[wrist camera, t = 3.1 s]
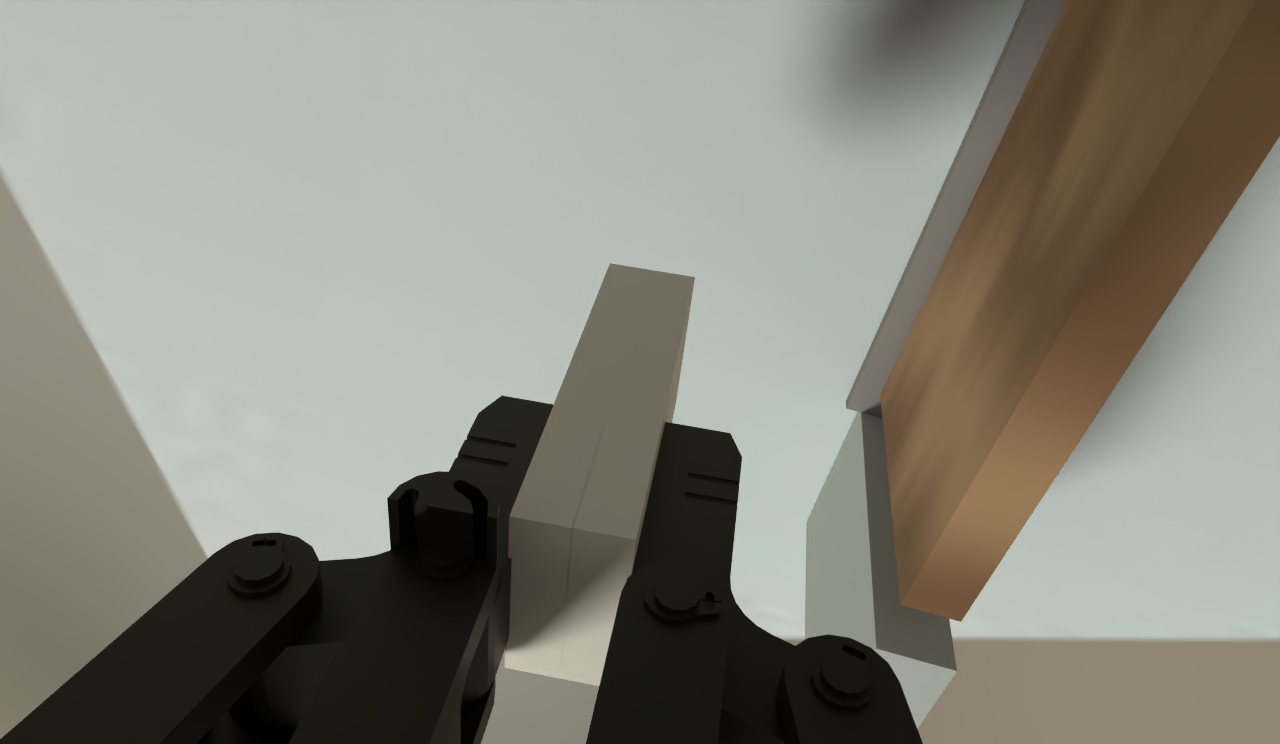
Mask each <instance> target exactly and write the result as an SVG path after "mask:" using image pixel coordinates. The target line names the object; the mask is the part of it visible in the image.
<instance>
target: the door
mask: <svg viewBox="0 0 1280 744" xmlns="http://www.w3.org/2000/svg"><path fill="white" fill-rule="evenodd" d="M1279 136H1280V0H1067V1H1066V3H1065V6H1064V8H1063V10H1062V12H1061V14H1060V16H1059V18H1058V20H1057V22H1056V25H1055V27H1054V29H1053V31H1052V33H1051V35H1050V37H1049V39H1048V42H1047V44H1046V46H1045V48H1044V50H1043V52H1042V54H1041V56H1040V58H1039V61H1038V63H1037V65H1036V67H1035V69H1034V71H1033V73H1032V75H1031V77H1030V80H1029V82H1028V84H1027V86H1026V88H1025V90H1024V92H1023V94H1022V96H1021V99H1020V101H1019V103H1018V105H1017V107H1016V109H1015V111H1014V113H1013V115H1012V118H1011V120H1010V122H1009V124H1008V126H1007V128H1006V130H1005V132H1004V134H1003V137H1002V139H1001V141H1000V143H999V145H998V147H997V149H996V151H995V154H994V156H993V158H992V160H991V162H990V164H989V166H988V168H987V170H986V173H985V175H984V177H983V179H982V181H981V183H980V185H979V187H978V189H977V192H976V194H975V196H974V198H973V200H972V202H971V204H970V206H969V208H968V211H967V213H966V215H965V217H964V219H963V221H962V223H961V225H960V227H959V230H958V232H957V234H956V236H955V238H954V240H953V242H952V244H951V246H950V249H949V251H948V253H947V255H946V257H945V259H944V261H943V263H942V265H941V268H940V270H939V272H938V274H937V276H936V278H935V280H934V282H933V285H932V287H931V289H930V291H929V293H928V295H927V297H926V299H925V301H924V304H923V306H922V308H921V310H920V312H919V314H918V316H917V318H916V320H915V323H914V325H913V327H912V329H911V331H910V333H909V335H908V337H907V339H906V342H905V344H904V346H903V348H902V350H901V352H900V354H899V356H898V358H897V361H896V363H895V365H894V367H893V369H892V371H891V373H890V375H889V377H888V380H887V382H886V384H885V386H884V388H883V390H882V392H881V394H880V398H881V408H882V419H883V429H884V440H885V450H886V461H887V471H888V481H889V492H890V502H891V513H892V523H893V533H894V544H895V554H896V565H897V575H898V586H899V596H900V605H903V606H907V607H910V608H914V609H917V610H921V611H925V612H928V613H932V614H935V615H939V616H942V617H946V618H950V619H953V620H957V621H960V622H961V621H962V619H963V618H964V616H965V615H966V613H967V612H968V610H969V609H970V607H971V606H972V604H973V603H974V601H975V599H976V598H977V596H978V595H979V593H980V592H981V590H982V589H983V587H984V586H985V584H986V583H987V581H988V580H989V578H990V577H991V575H992V574H993V572H994V571H995V569H996V567H997V566H998V564H999V563H1000V561H1001V560H1002V558H1003V557H1004V555H1005V554H1006V552H1007V551H1008V549H1009V548H1010V546H1011V545H1012V543H1013V542H1014V540H1015V539H1016V537H1017V535H1018V534H1019V532H1020V531H1021V529H1022V528H1023V526H1024V525H1025V523H1026V522H1027V520H1028V519H1029V517H1030V516H1031V514H1032V513H1033V511H1034V510H1035V508H1036V507H1037V505H1038V503H1039V502H1040V500H1041V499H1042V497H1043V496H1044V494H1045V493H1046V491H1047V490H1048V488H1049V487H1050V485H1051V484H1052V482H1053V481H1054V479H1055V478H1056V476H1057V475H1058V473H1059V471H1060V470H1061V468H1062V467H1063V465H1064V464H1065V462H1066V461H1067V459H1068V458H1069V456H1070V455H1071V453H1072V452H1073V450H1074V449H1075V447H1076V446H1077V444H1078V443H1079V441H1080V439H1081V438H1082V436H1083V435H1084V433H1085V432H1086V430H1087V429H1088V427H1089V426H1090V424H1091V423H1092V421H1093V420H1094V418H1095V417H1096V415H1097V414H1098V412H1099V411H1100V409H1101V407H1102V406H1103V404H1104V403H1105V401H1106V400H1107V398H1108V397H1109V395H1110V394H1111V392H1112V391H1113V389H1114V388H1115V386H1116V385H1117V383H1118V382H1119V380H1120V379H1121V377H1122V376H1123V374H1124V372H1125V371H1126V369H1127V368H1128V366H1129V365H1130V363H1131V362H1132V360H1133V359H1134V357H1135V356H1136V354H1137V353H1138V351H1139V350H1140V348H1141V347H1142V345H1143V344H1144V342H1145V340H1146V339H1147V337H1148V336H1149V334H1150V333H1151V331H1152V330H1153V328H1154V327H1155V325H1156V324H1157V322H1158V321H1159V319H1160V318H1161V316H1162V315H1163V313H1164V312H1165V310H1166V308H1167V307H1168V305H1169V304H1170V302H1171V301H1172V299H1173V298H1174V296H1175V295H1176V293H1177V292H1178V290H1179V289H1180V287H1181V286H1182V284H1183V283H1184V281H1185V280H1186V278H1187V276H1188V275H1189V273H1190V272H1191V270H1192V269H1193V267H1194V266H1195V264H1196V263H1197V261H1198V260H1199V258H1200V257H1201V255H1202V254H1203V252H1204V251H1205V249H1206V248H1207V246H1208V244H1209V243H1210V241H1211V240H1212V238H1213V237H1214V235H1215V234H1216V232H1217V231H1218V229H1219V228H1220V226H1221V225H1222V223H1223V222H1224V220H1225V219H1226V217H1227V216H1228V214H1229V212H1230V211H1231V209H1232V208H1233V206H1234V205H1235V203H1236V202H1237V200H1238V199H1239V197H1240V196H1241V194H1242V193H1243V191H1244V190H1245V188H1246V187H1247V185H1248V184H1249V182H1250V180H1251V179H1252V177H1253V176H1254V174H1255V173H1256V171H1257V170H1258V168H1259V167H1260V165H1261V164H1262V162H1263V161H1264V159H1265V158H1266V156H1267V155H1268V153H1269V152H1270V150H1271V148H1272V147H1273V145H1274V144H1275V142H1276V141H1277V139H1278V138H1279Z"/></svg>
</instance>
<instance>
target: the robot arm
mask: <svg viewBox="0 0 1280 744" xmlns="http://www.w3.org/2000/svg"><path fill="white" fill-rule="evenodd" d="M694 279H695V277H690V276H684V275H678V274H671V273H665V272H659V271H653V270H647V269H641V268H635V267H629V266H622V265H616V264H610V265H609V267H608V270H607V272H606V275H605V277H604V280H603V282H602V285H601V287H600V290H599V293H598V295H597V298H596V300H595V303H594V305H593V308H592V310H591V313H590V315H589V318H588V320H587V323H586V325H585V328H584V330H583V333H582V335H581V338H580V340H579V343H578V345H577V348H576V350H575V353H574V355H573V358H572V360H571V363H570V365H569V368H568V370H567V373H566V375H565V378H564V380H563V383H562V385H561V388H560V390H559V393H558V395H557V398H556V400H555V403H554V405H552V404H547V403H541V402H535V401H529V400H524V399H518V398H512V397H506V396H501V397H500V398H498V399H497V400H496V401H494V402H493V403H491V404H490V405H489V406H487V407H486V408H485V409H483V410H482V411H481V412H479V414H478V415H477V417H476V419H475V421H474V423H473V425H472V427H471V429H470V431H469V433H468V435H467V440H465V441H464V443H463V445H462V447H461V449H460V451H459V453H458V457H457V458H456V459H455V461H454V463H453V465H452V467H451V469H450V471H449V472H439V471H438V472H434V473H429V474H424V475H419V476H416V477H414V478H412V479H410V480H409V481H407V482H405V483H403V484H401V485H399V486H398V487H397V489H396V490H395V491H394V492H393V493H392V494H391V495H390V496H389V497H388V498H387V499H388V513H389V528H390V542H391V550H390V551H387V552H384V553H381V554H378V555H375V556H370V557H364V558H357V559H343V560H328V561H319V559H318V557H317V555H316V553H315V551H314V550H313V548H312V546H310V545H309V544H307V543H306V542H304V541H303V540H301V539H300V538H298V537H295V536H291V535H286V534H282V533H264V534H254V535H251V536H248V537H245V538H242V539H238V540H235V541H233V542H231V543H230V544H228V545H226V546H225V547H223V548H222V549H220V550H219V551H217V552H216V553H214V554H213V555H212V556H211V557H210V558H208V559H207V560H206V561H205V562H204V563H203V564H201V565H200V566H199V567H198V568H197V569H196V570H195V571H193V572H192V573H191V574H190V575H189V576H188V577H187V578H185V580H183V581H182V582H181V583H180V584H179V585H177V586H176V587H175V588H174V589H173V590H172V591H171V592H169V593H168V594H167V595H166V596H165V597H164V598H162V599H161V600H160V601H159V602H158V603H157V604H155V605H154V606H153V607H152V608H151V609H150V610H149V611H147V612H146V613H145V614H144V615H143V616H142V617H141V618H140V619H138V620H137V621H136V622H135V623H134V624H132V625H131V626H130V627H129V628H128V629H127V630H126V631H125V632H123V633H122V634H121V635H120V636H119V637H118V638H116V639H115V640H114V641H113V642H112V643H111V644H109V645H108V646H107V647H106V648H105V649H104V650H103V651H101V652H100V653H99V654H98V655H97V656H96V657H95V658H93V659H92V660H91V661H90V662H89V663H88V664H86V666H84V667H83V668H82V669H81V670H80V671H79V672H77V673H76V674H75V675H74V676H73V677H72V678H70V679H69V680H68V681H67V682H66V683H65V684H63V685H62V686H61V687H60V688H59V689H58V690H57V691H56V692H54V693H53V694H52V695H51V696H50V697H49V698H47V699H46V700H45V701H44V702H43V703H42V704H40V705H39V706H38V707H37V708H36V709H35V710H34V711H32V712H31V713H30V714H29V715H28V716H27V717H26V718H24V719H23V720H22V721H21V722H20V723H19V724H18V725H16V726H15V727H14V728H13V729H12V730H11V731H9V732H8V733H7V734H6V735H5V736H4V737H3V738H1V739H0V744H481V741H482V738H483V735H484V732H485V729H486V726H487V723H488V720H489V717H490V714H491V711H492V708H493V705H494V695H495V676H496V673H497V670H498V667H499V664H500V661H501V658H502V655H503V652H504V649H505V668H510V669H514V670H520V671H525V672H530V673H535V674H540V675H545V676H550V677H556V678H561V679H566V680H571V681H576V682H581V683H586V684H591V685H596V686H599V691H598V694H597V699H596V703H595V707H594V712H593V716H592V720H591V725H590V729H589V733H588V737H587V742H586V744H923V743H922V740H921V738H920V735H919V732H918V730H917V727H916V724H915V722H914V719H913V716H912V714H911V711H910V708H909V705H908V703H907V700H906V697H905V695H904V692H903V689H902V687H901V684H900V681H899V680H898V678H897V676H896V675H895V673H894V671H893V670H892V668H891V666H890V665H889V663H888V662H887V661H886V660H885V659H883V658H882V657H881V656H880V655H879V654H878V653H877V652H875V651H874V650H873V649H872V648H871V647H868V646H866V645H864V644H862V643H860V642H858V641H856V640H854V639H851V638H848V637H842V636H835V635H829V634H827V635H821V636H816V637H810V638H807V639H806V640H804V641H802V642H801V643H800V644H798V645H796V646H794V645H792V644H790V643H788V642H786V641H784V640H782V639H780V638H778V637H776V636H773V635H771V634H770V633H768V632H766V631H765V630H763V629H761V628H760V627H758V626H756V625H755V624H754V623H753V622H752V621H751V620H750V619H749V618H748V617H746V616H745V615H744V613H743V612H742V611H741V609H740V608H739V606H738V605H737V604H736V602H735V599H734V597H733V594H732V591H731V584H730V573H731V563H732V553H733V542H734V532H735V522H736V512H737V502H738V492H739V481H740V471H741V461H742V456H741V454H740V452H739V450H738V448H737V446H736V444H735V442H734V440H733V438H732V436H731V434H730V433H725V432H720V431H714V430H708V429H702V428H697V427H691V426H685V425H679V424H674V423H672V418H673V413H674V409H675V404H676V397H677V391H678V384H679V378H680V371H681V365H682V358H683V351H684V345H685V338H686V332H687V325H688V319H689V312H690V305H691V299H692V292H693V286H694Z"/></svg>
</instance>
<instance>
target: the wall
mask: <svg viewBox="0 0 1280 744" xmlns="http://www.w3.org/2000/svg"><path fill="white" fill-rule="evenodd" d="M1066 1H1067V0H1026V1H1025V3H1024V5H1023V8H1022V10H1021V12H1020V14H1019V17H1018V19H1017V21H1016V23H1015V25H1014V28H1013V30H1012V32H1011V34H1010V37H1009V39H1008V41H1007V43H1006V46H1005V48H1004V50H1003V52H1002V54H1001V57H1000V59H999V61H998V63H997V66H996V68H995V70H994V72H993V75H992V77H991V79H990V81H989V83H988V86H987V88H986V90H985V92H984V95H983V97H982V99H981V101H980V104H979V106H978V108H977V110H976V112H975V115H974V117H973V119H972V121H971V124H970V126H969V128H968V130H967V133H966V135H965V137H964V139H963V141H962V144H961V146H960V148H959V150H958V153H957V155H956V157H955V159H954V162H953V164H952V166H951V168H950V170H949V173H948V175H947V177H946V179H945V182H944V184H943V186H942V188H941V191H940V193H939V195H938V197H937V199H936V202H935V204H934V206H933V208H932V211H931V213H930V215H929V217H928V220H927V222H926V224H925V226H924V228H923V231H922V233H921V235H920V237H919V240H918V242H917V244H916V246H915V249H914V251H913V253H912V255H911V257H910V260H909V262H908V264H907V266H906V269H905V271H904V273H903V275H902V278H901V280H900V282H899V284H898V286H897V289H896V291H895V293H894V295H893V298H892V300H891V302H890V304H889V307H888V309H887V311H886V313H885V315H884V318H883V320H882V322H881V324H880V327H879V329H878V331H877V333H876V336H875V338H874V340H873V342H872V344H871V347H870V349H869V351H868V353H867V356H866V358H865V360H864V362H863V365H862V367H861V369H860V371H859V373H858V376H857V378H856V380H855V382H854V385H853V387H852V389H851V391H850V394H849V396H848V398H847V400H846V408H847V409H851V410H854V411H858V412H857V415H856V417H855V419H854V421H853V423H852V425H851V428H850V430H849V432H848V434H847V436H846V438H845V441H844V443H843V445H842V447H841V449H840V451H839V454H838V456H837V458H836V460H835V462H834V464H833V467H832V469H831V471H830V473H829V475H828V477H827V480H826V482H825V484H824V486H823V488H822V490H821V493H820V495H819V497H818V499H817V501H816V503H815V506H814V508H813V510H812V512H811V514H810V516H809V519H808V521H807V534H806V603H805V640H806V639H807V638H810V637H816V636H821V635H827V634H829V635H835V636H842V637H848V638H851V639H854V640H856V641H858V642H860V643H862V644H864V645H866V646H868V647H871V648H872V649H873V650H874V651H875V652H877V653H878V654H879V655H880V656H881V657H882V658H883V659H885V660H886V661H887V662H888V663H889V665H890V666H891V668H892V670H893V671H894V673H895V675H896V676H897V678H898V680H899V681H900V684H901V687H902V689H903V692H904V695H905V697H906V700H907V703H908V705H909V708H910V711H911V714H912V716H913V719H914V722H915V724H916V727H917V729H918V727H919V726H920V724H921V723H922V721H923V720H924V718H925V717H926V716H927V714H928V713H929V711H930V710H931V708H932V707H933V705H934V704H935V702H936V701H937V699H938V698H939V696H940V695H941V694H942V692H943V691H944V689H945V688H946V686H947V685H948V683H949V682H950V680H951V679H952V678H953V676H954V675H955V673H956V672H957V669H956V662H955V656H954V650H953V643H952V635H951V629H950V622H949V618H946V617H942V616H939V615H935V614H932V613H928V612H925V611H921V610H917V609H914V608H910V607H907V606H903V605H900V596H899V586H898V575H897V565H896V554H895V544H894V533H893V523H892V513H891V502H890V492H889V481H888V471H887V461H886V450H885V440H884V429H883V419H882V408H881V398H880V394H881V392H882V390H883V388H884V386H885V384H886V382H887V380H888V377H889V375H890V373H891V371H892V369H893V367H894V365H895V363H896V361H897V358H898V356H899V354H900V352H901V350H902V348H903V346H904V344H905V342H906V339H907V337H908V335H909V333H910V331H911V329H912V327H913V325H914V323H915V320H916V318H917V316H918V314H919V312H920V310H921V308H922V306H923V304H924V301H925V299H926V297H927V295H928V293H929V291H930V289H931V287H932V285H933V282H934V280H935V278H936V276H937V274H938V272H939V270H940V268H941V265H942V263H943V261H944V259H945V257H946V255H947V253H948V251H949V249H950V246H951V244H952V242H953V240H954V238H955V236H956V234H957V232H958V230H959V227H960V225H961V223H962V221H963V219H964V217H965V215H966V213H967V211H968V208H969V206H970V204H971V202H972V200H973V198H974V196H975V194H976V192H977V189H978V187H979V185H980V183H981V181H982V179H983V177H984V175H985V173H986V170H987V168H988V166H989V164H990V162H991V160H992V158H993V156H994V154H995V151H996V149H997V147H998V145H999V143H1000V141H1001V139H1002V137H1003V134H1004V132H1005V130H1006V128H1007V126H1008V124H1009V122H1010V120H1011V118H1012V115H1013V113H1014V111H1015V109H1016V107H1017V105H1018V103H1019V101H1020V99H1021V96H1022V94H1023V92H1024V90H1025V88H1026V86H1027V84H1028V82H1029V80H1030V77H1031V75H1032V73H1033V71H1034V69H1035V67H1036V65H1037V63H1038V61H1039V58H1040V56H1041V54H1042V52H1043V50H1044V48H1045V46H1046V44H1047V42H1048V39H1049V37H1050V35H1051V33H1052V31H1053V29H1054V27H1055V25H1056V22H1057V20H1058V18H1059V16H1060V14H1061V12H1062V10H1063V8H1064V6H1065V3H1066Z"/></svg>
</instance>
